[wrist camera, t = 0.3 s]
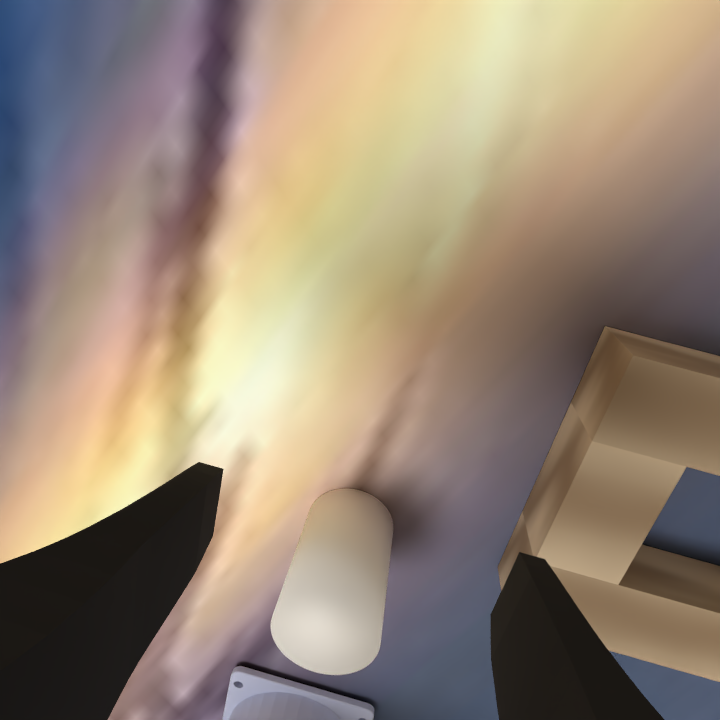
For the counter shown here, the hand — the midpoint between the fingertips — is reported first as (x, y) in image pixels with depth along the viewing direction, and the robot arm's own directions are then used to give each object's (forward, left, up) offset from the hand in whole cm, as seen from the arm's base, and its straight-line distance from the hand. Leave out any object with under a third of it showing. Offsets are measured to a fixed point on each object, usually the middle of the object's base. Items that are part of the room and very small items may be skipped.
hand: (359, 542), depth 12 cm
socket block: (-2, -13, -10) cm, 16 cm away
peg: (-8, 0, -10) cm, 12 cm away
